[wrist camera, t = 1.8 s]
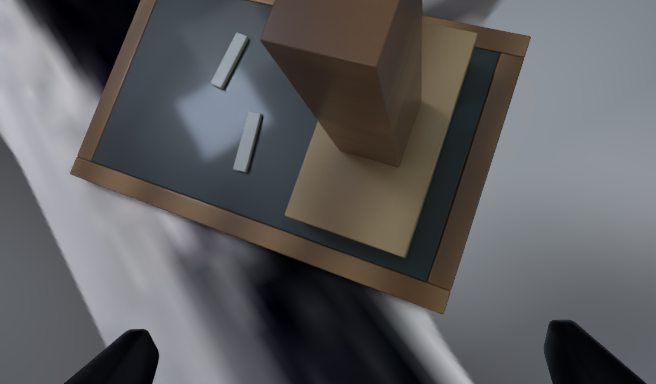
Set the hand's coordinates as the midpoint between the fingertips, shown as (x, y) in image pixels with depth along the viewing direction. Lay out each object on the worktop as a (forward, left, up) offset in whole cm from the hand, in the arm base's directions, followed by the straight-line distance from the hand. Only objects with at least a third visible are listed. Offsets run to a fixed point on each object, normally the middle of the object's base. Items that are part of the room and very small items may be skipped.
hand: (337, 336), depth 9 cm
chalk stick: (+7, +9, -12) cm, 17 cm away
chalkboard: (+9, +8, -13) cm, 18 cm away
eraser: (+8, +1, -12) cm, 15 cm away
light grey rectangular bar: (+12, +11, -12) cm, 20 cm away
